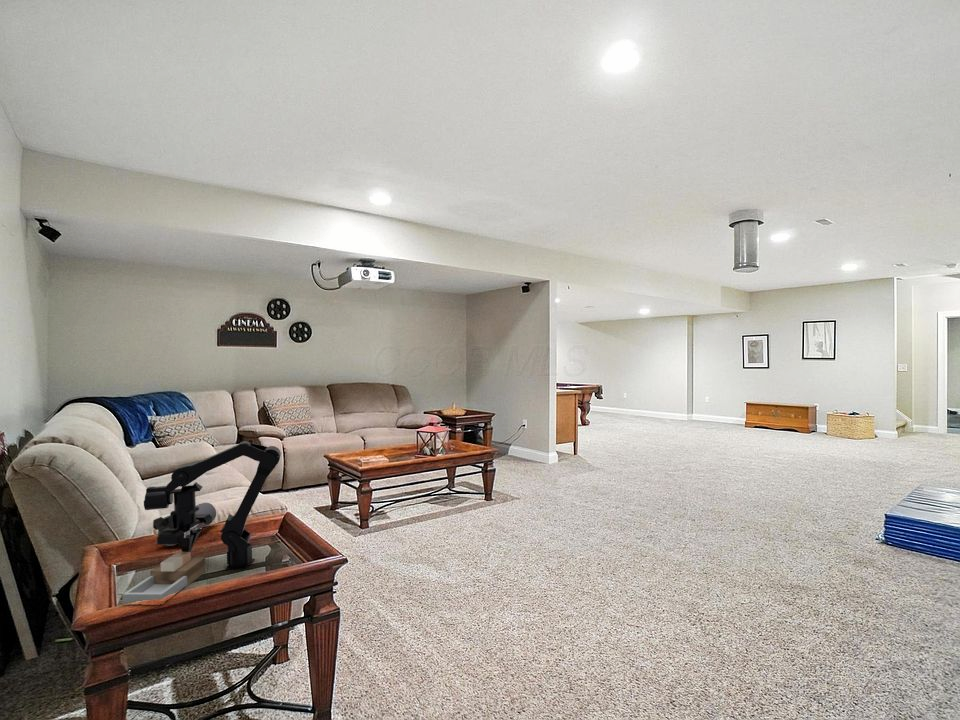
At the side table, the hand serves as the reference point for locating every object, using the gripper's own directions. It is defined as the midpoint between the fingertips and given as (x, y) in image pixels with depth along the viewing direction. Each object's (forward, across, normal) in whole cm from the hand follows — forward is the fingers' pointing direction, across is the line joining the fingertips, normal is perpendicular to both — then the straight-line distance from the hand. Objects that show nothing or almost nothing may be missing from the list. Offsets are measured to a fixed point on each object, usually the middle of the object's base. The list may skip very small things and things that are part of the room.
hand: (186, 555), depth 155 cm
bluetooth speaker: (+6, -29, -18) cm, 35 cm away
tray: (+5, +14, 0) cm, 15 cm away
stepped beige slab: (+5, +4, 0) cm, 7 cm away
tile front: (+1, +7, 0) cm, 7 cm away
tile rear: (+1, +3, 0) cm, 3 cm away
